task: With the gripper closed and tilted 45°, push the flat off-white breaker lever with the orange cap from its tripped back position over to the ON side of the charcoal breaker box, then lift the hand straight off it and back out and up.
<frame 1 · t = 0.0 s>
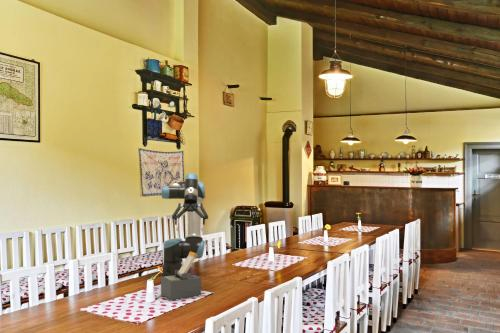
hand: (189, 229, 248), 36 cm above the table, tool tilted 35°, fingers open, 13 cm apart
vegetable: (190, 285, 268), on the table
lever: (187, 264, 248), point 17 cm above the table, hinge at -35.0°
breaker box: (181, 295, 246), on the table
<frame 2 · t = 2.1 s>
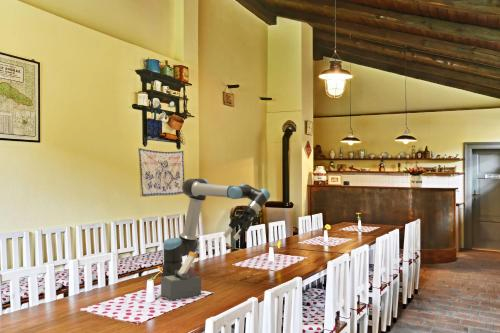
hand: (229, 237, 263), 29 cm above the table, tool tilted 45°, fingers open, 11 cm apart
nothing on the table moved.
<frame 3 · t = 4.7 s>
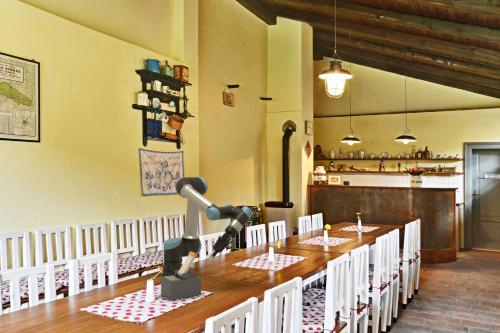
hand: (208, 260, 255), 18 cm above the table, tool tilted 45°, fingers closed
nothing on the table moved.
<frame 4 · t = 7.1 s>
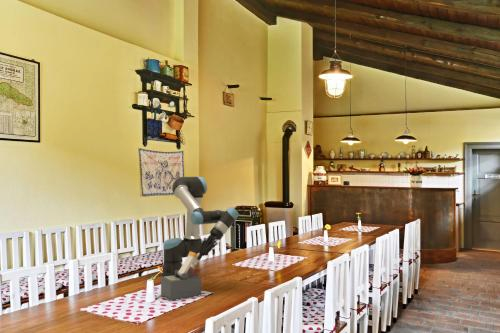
hand: (193, 263, 248), 17 cm above the table, tool tilted 45°, fingers closed
lever: (187, 264, 248), point 17 cm above the table, hinge at -34.6°, touching gripper
everything else where it was.
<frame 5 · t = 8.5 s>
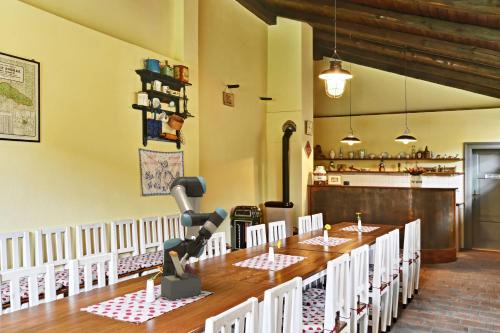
hand: (181, 264, 244), 17 cm above the table, tool tilted 45°, fingers closed
lever: (177, 264, 245), point 17 cm above the table, hinge at 21.6°, touching gripper
everything else where it was.
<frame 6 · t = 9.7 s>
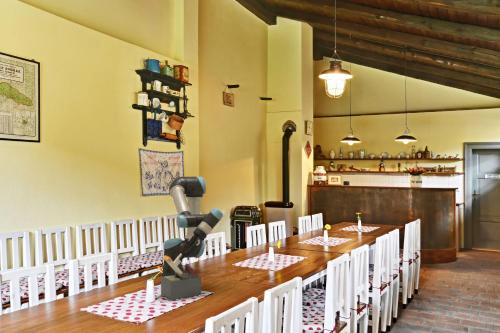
hand: (174, 264, 244), 17 cm above the table, tool tilted 45°, fingers closed
lever: (174, 266, 244), point 16 cm above the table, hinge at 41.0°, touching gripper
everything else where it was.
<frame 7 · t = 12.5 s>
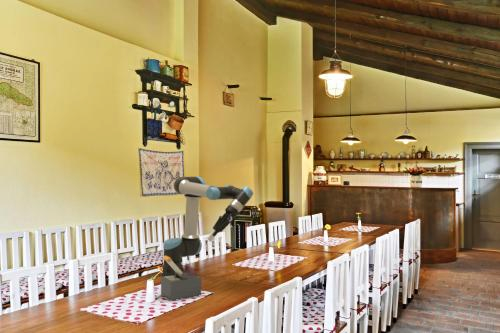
hand: (208, 239, 254), 29 cm above the table, tool tilted 45°, fingers closed
lever: (174, 266, 244), point 16 cm above the table, hinge at 41.1°
everything else where it was.
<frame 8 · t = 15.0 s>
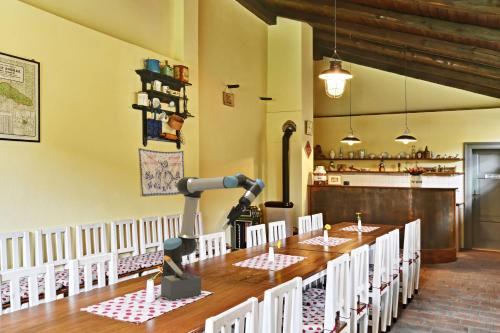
hand: (223, 228, 268), 34 cm above the table, tool tilted 45°, fingers closed
nothing on the table moved.
at the end: lever at +41° (first picture: -35°) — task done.
